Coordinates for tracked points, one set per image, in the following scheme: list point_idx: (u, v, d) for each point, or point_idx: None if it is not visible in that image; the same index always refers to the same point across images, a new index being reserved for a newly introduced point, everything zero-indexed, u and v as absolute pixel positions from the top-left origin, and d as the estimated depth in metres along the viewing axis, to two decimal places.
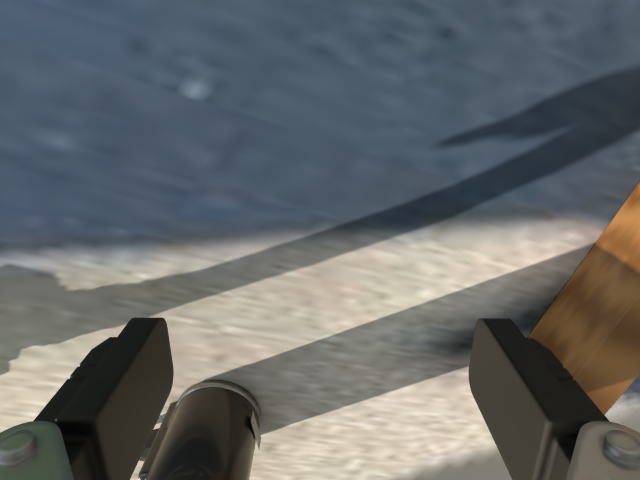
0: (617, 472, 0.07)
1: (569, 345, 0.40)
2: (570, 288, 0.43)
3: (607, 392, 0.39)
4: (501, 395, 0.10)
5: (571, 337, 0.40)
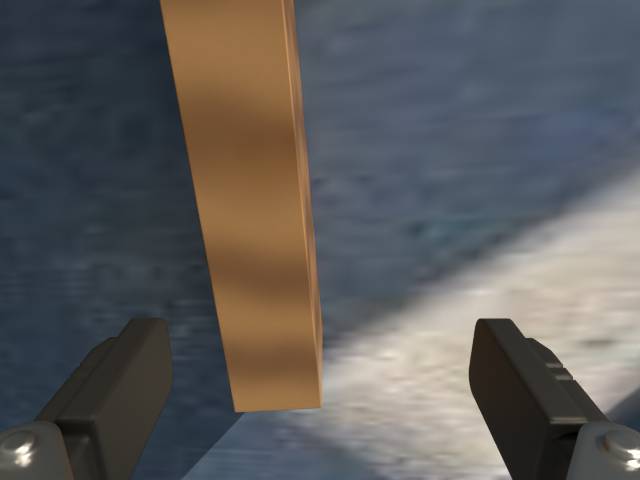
0: (617, 472, 0.07)
1: None
2: None
3: None
4: (500, 395, 0.10)
5: None
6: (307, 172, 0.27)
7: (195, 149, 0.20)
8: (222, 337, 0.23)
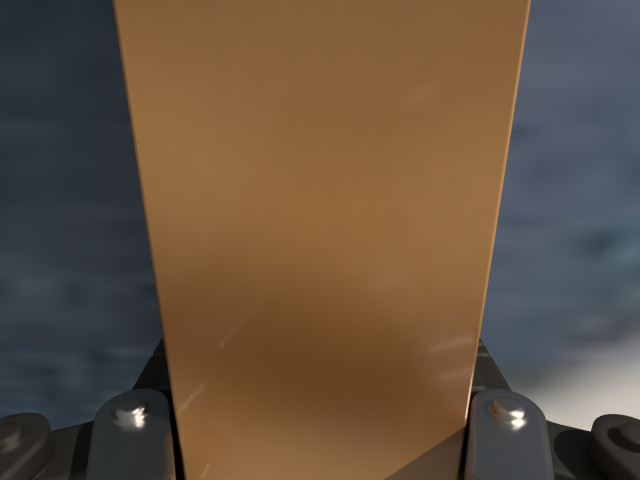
0: (497, 430, 0.07)
1: None
2: None
3: None
4: None
5: None
6: None
7: None
8: None
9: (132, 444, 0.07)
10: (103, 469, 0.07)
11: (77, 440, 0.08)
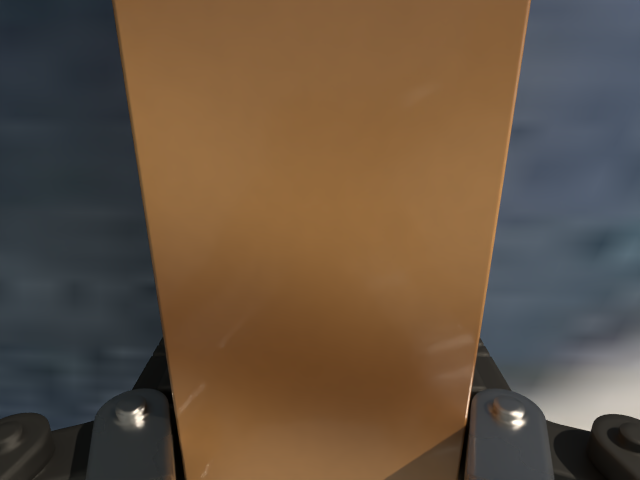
0: (497, 430, 0.07)
1: None
2: None
3: None
4: None
5: None
6: None
7: None
8: None
9: (132, 444, 0.07)
10: (103, 469, 0.07)
11: (76, 440, 0.08)
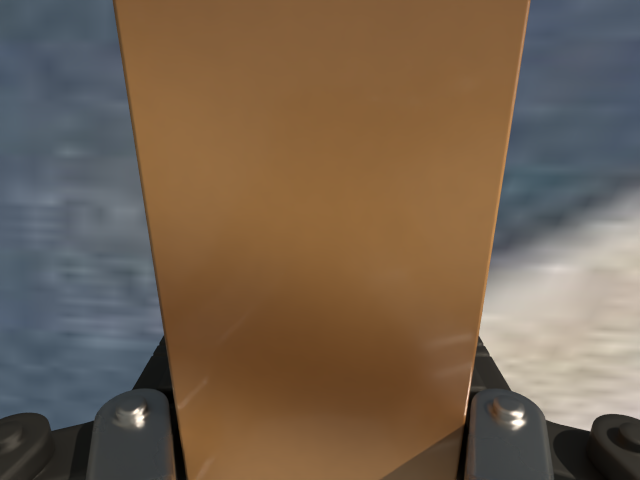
0: (497, 430, 0.07)
1: None
2: None
3: None
4: None
5: None
6: None
7: None
8: None
9: (132, 444, 0.07)
10: (103, 469, 0.07)
11: (77, 441, 0.08)
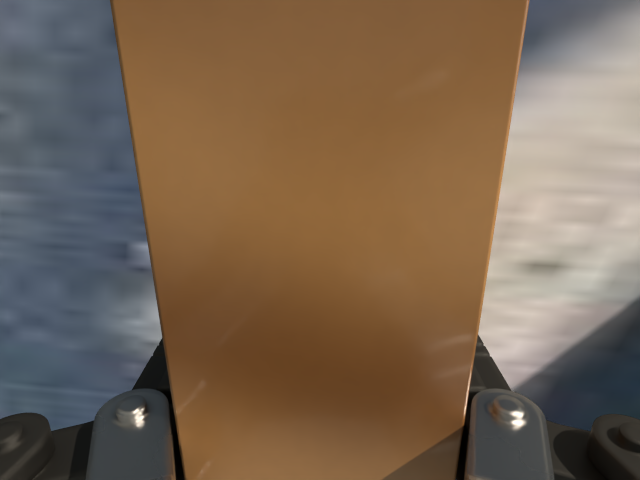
0: (497, 430, 0.07)
1: None
2: None
3: None
4: None
5: None
6: None
7: None
8: None
9: (132, 444, 0.07)
10: (103, 469, 0.07)
11: (77, 440, 0.08)
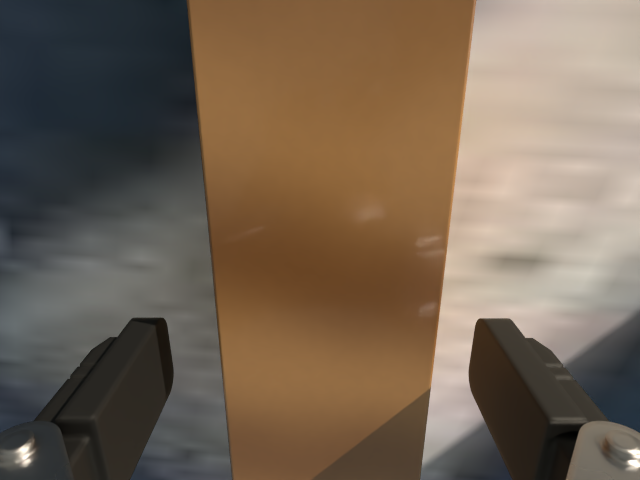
0: (617, 472, 0.07)
1: None
2: None
3: None
4: (501, 395, 0.10)
5: None
6: None
7: None
8: (227, 404, 0.11)
9: None
10: None
11: None
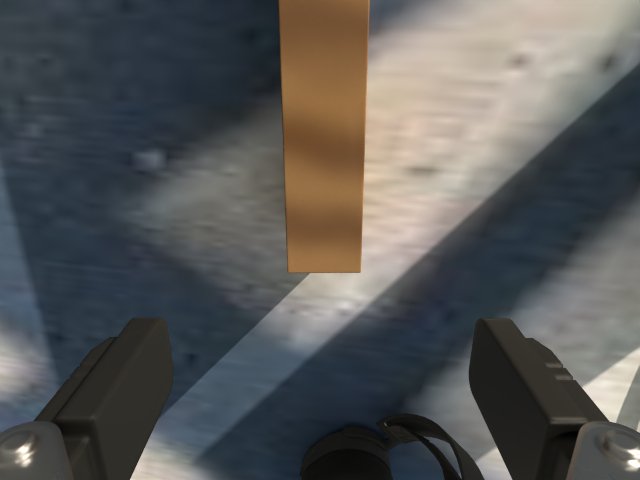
0: (617, 472, 0.07)
1: None
2: None
3: None
4: (501, 395, 0.10)
5: None
6: None
7: (286, 30, 0.24)
8: (286, 201, 0.28)
9: None
10: None
11: None
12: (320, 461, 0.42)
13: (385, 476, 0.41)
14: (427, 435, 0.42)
